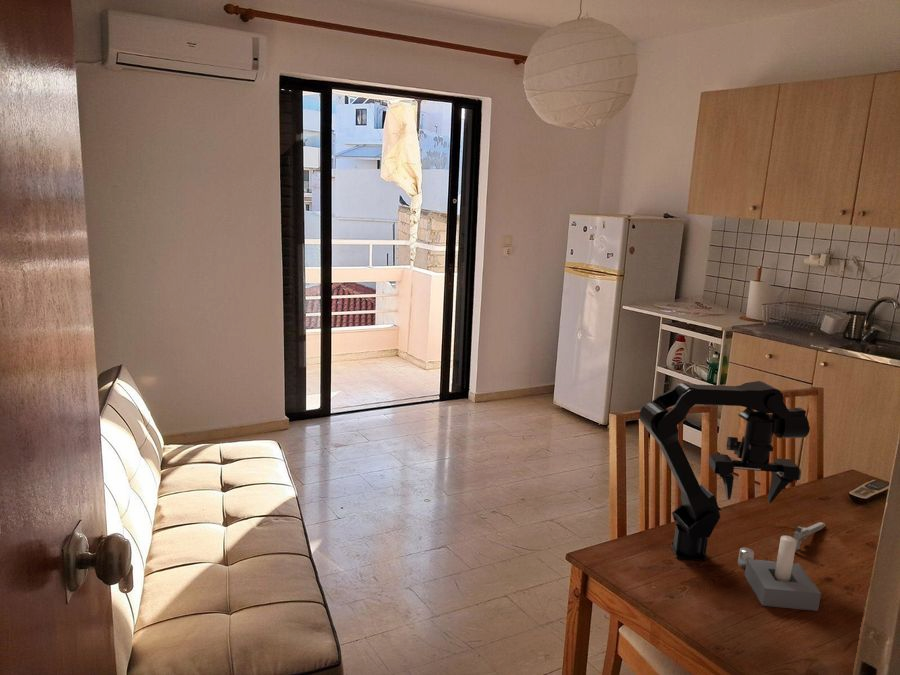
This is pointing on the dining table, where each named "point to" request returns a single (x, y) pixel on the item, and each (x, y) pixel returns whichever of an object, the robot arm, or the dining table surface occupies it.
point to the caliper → (806, 533)
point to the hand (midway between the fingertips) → (748, 500)
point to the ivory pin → (785, 558)
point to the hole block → (782, 586)
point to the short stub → (745, 556)
